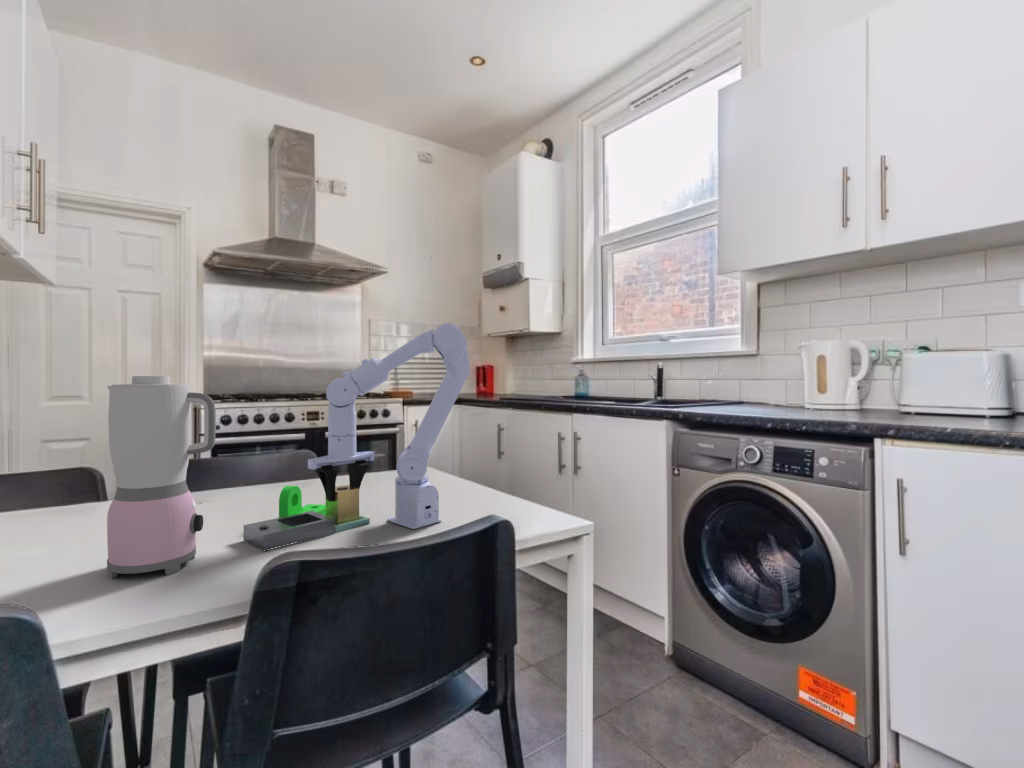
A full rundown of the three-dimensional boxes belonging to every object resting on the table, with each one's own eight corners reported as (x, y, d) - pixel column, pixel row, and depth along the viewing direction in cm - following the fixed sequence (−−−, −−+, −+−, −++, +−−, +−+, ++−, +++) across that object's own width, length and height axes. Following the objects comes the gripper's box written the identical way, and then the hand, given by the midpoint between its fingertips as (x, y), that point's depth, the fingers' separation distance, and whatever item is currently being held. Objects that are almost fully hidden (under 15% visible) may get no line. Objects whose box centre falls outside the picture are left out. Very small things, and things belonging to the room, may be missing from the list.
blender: (90, 585, 79) (87, 376, 78) (125, 557, 91) (122, 375, 90) (207, 574, 83) (204, 376, 83) (225, 549, 95) (223, 375, 94)
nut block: (359, 520, 111) (359, 487, 111) (337, 525, 107) (337, 491, 107) (346, 516, 114) (346, 484, 114) (325, 521, 110) (325, 488, 110)
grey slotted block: (334, 533, 104) (334, 517, 104) (263, 551, 94) (263, 533, 94) (312, 524, 110) (312, 509, 110) (243, 540, 100) (243, 523, 100)
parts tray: (369, 523, 111) (369, 518, 111) (335, 532, 105) (335, 526, 105) (349, 516, 116) (349, 511, 116) (315, 524, 110) (315, 519, 110)
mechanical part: (305, 527, 108) (305, 489, 108) (278, 526, 108) (279, 488, 109) (332, 513, 120) (332, 479, 120) (308, 512, 120) (308, 478, 120)
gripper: (361, 430, 118) (362, 489, 119) (300, 436, 107) (301, 501, 108) (379, 433, 114) (379, 494, 114) (317, 439, 103) (317, 507, 103)
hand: (342, 498), depth 110 cm, fingers closed on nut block, 5 cm apart
